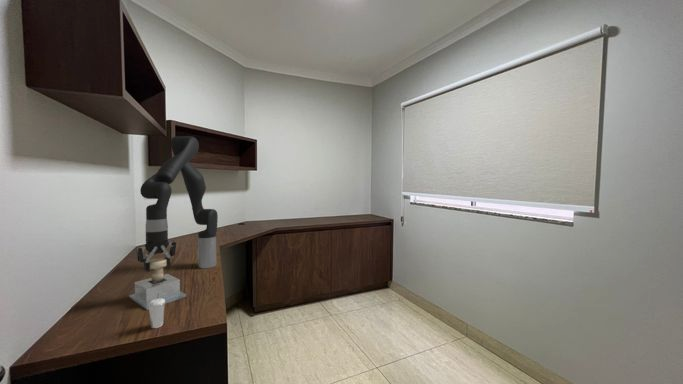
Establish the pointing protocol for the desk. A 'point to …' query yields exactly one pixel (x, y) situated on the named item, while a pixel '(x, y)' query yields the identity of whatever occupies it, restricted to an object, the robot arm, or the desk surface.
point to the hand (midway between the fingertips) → (157, 268)
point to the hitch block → (157, 290)
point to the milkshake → (156, 312)
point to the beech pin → (157, 268)
